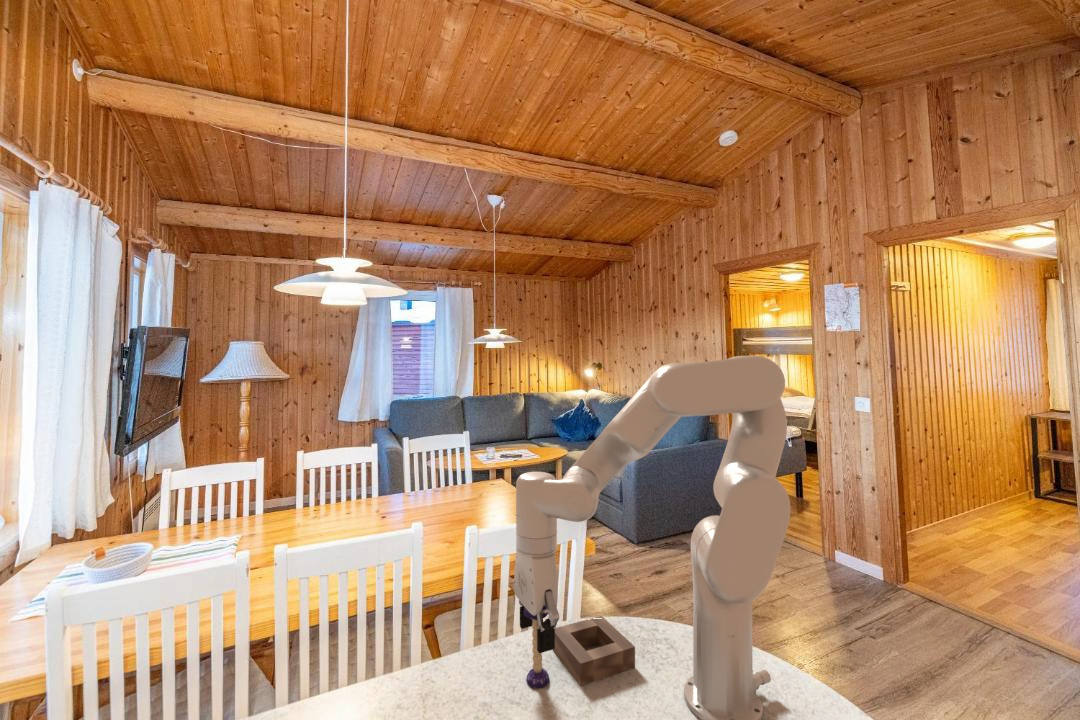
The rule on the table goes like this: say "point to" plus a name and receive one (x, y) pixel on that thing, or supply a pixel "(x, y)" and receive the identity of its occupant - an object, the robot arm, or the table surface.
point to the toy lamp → (536, 656)
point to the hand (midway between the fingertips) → (536, 637)
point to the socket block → (593, 650)
